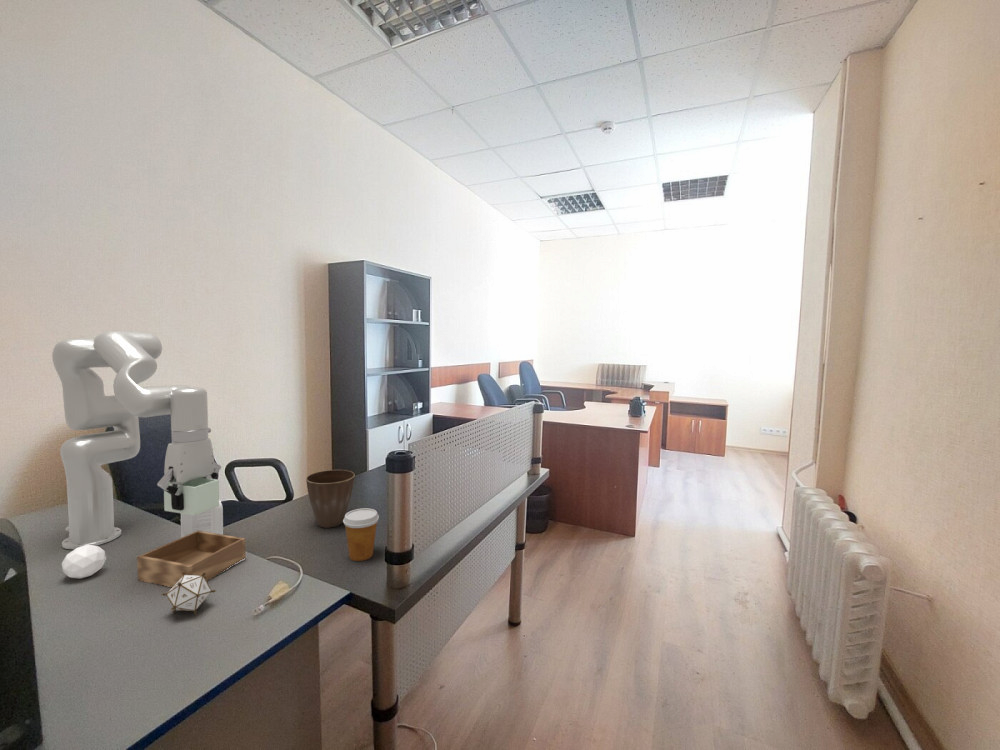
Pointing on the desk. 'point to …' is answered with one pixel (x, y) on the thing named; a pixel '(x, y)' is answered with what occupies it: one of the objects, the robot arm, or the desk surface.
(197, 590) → the game die
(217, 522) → the photo printer
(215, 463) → the robot arm
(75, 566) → the geometric ball
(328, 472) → the plant pot
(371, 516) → the disposable coffee cup
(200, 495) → the box
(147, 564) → the big crate
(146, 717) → the desk surface
